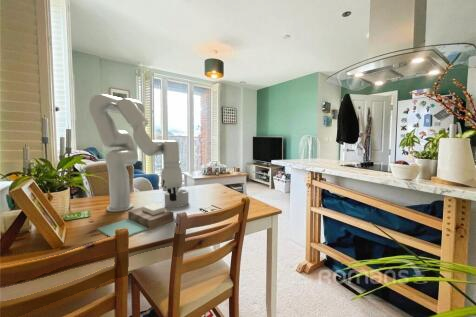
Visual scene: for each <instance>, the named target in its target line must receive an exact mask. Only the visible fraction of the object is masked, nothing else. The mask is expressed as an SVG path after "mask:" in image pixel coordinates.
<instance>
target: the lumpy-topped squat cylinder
mask: <svg viewBox="0 0 476 317" xmlns="http://www.w3.org/2000/svg"><path fill="white" fill-rule="evenodd" d="M189 196H190V195H189V191H188V190H187V189H185V188H183V187H181V188H179V189H178V190H177V193H176V201H170V196H169V193H168V192H167V191H165V193H164V207H165V208H178V206H179V207H183V206H182V205H184V206H186V204H187V205H189V199H190V198H189Z"/></svg>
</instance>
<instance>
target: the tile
mask: <svg viewBox="0 0 476 317" xmlns="http://www.w3.org/2000/svg"><path fill="white" fill-rule="evenodd" d="M141 207H142V210H143V211H145V212H148V213H150V214H152V215H155V214H158V213H161V212H164V211H165V210H166V206H163V205H160V204H157V203H154V202H153V203H150V204H146V205H142V206H141Z"/></svg>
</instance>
